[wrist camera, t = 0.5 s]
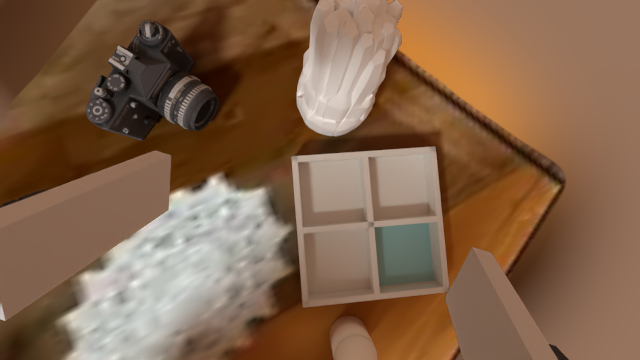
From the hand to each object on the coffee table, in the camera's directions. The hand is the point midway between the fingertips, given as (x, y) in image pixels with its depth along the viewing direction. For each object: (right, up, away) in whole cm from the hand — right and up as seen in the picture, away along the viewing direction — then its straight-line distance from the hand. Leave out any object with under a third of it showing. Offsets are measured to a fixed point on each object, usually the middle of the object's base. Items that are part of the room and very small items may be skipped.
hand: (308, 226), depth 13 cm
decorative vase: (+2, +14, +33) cm, 35 cm away
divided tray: (+7, -4, +32) cm, 33 cm away
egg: (+5, -21, +31) cm, 37 cm away
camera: (-20, +13, +31) cm, 39 cm away
